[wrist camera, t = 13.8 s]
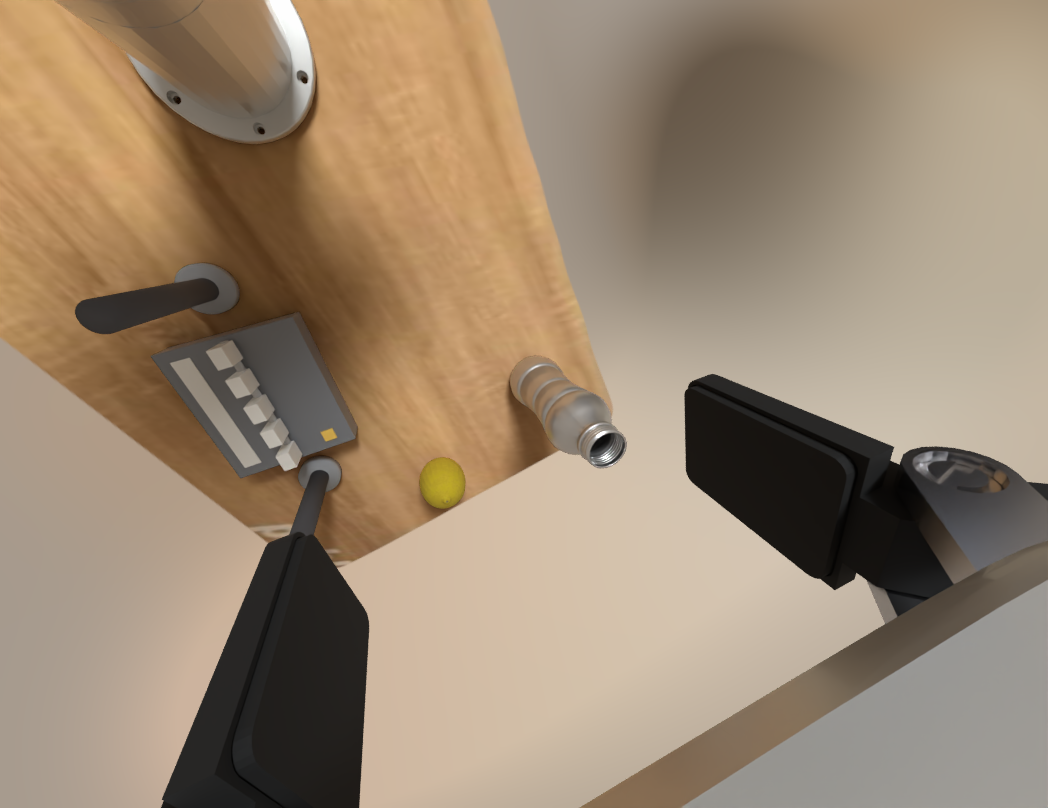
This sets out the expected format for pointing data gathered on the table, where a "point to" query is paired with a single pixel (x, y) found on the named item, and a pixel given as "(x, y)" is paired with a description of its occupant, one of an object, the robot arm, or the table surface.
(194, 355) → the breaker panel
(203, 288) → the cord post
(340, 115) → the table surface
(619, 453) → the plastic bottle
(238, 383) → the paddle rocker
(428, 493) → the lemon
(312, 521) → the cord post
